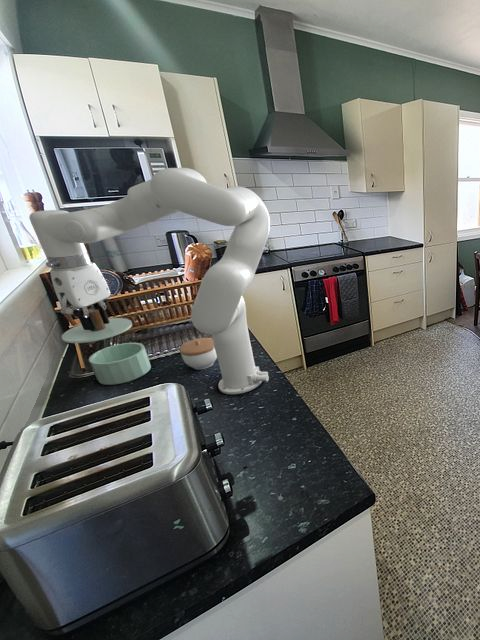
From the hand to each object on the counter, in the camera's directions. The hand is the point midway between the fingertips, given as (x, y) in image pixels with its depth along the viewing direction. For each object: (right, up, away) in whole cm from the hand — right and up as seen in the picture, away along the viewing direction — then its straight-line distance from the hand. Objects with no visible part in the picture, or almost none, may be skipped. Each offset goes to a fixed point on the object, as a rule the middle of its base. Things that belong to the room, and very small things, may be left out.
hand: (97, 325), depth 95 cm
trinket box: (+14, -14, +24) cm, 31 cm away
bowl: (-8, -16, +18) cm, 25 cm away
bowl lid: (0, -1, +1) cm, 2 cm away
